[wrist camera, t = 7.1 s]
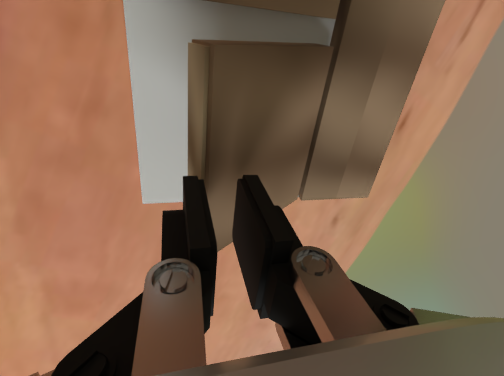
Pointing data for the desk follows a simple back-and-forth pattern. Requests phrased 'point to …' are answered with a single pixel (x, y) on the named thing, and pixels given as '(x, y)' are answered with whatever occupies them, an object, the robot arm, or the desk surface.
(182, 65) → the underlay
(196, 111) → the plank
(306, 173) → the laid strip
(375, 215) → the desk surface
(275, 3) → the plank
